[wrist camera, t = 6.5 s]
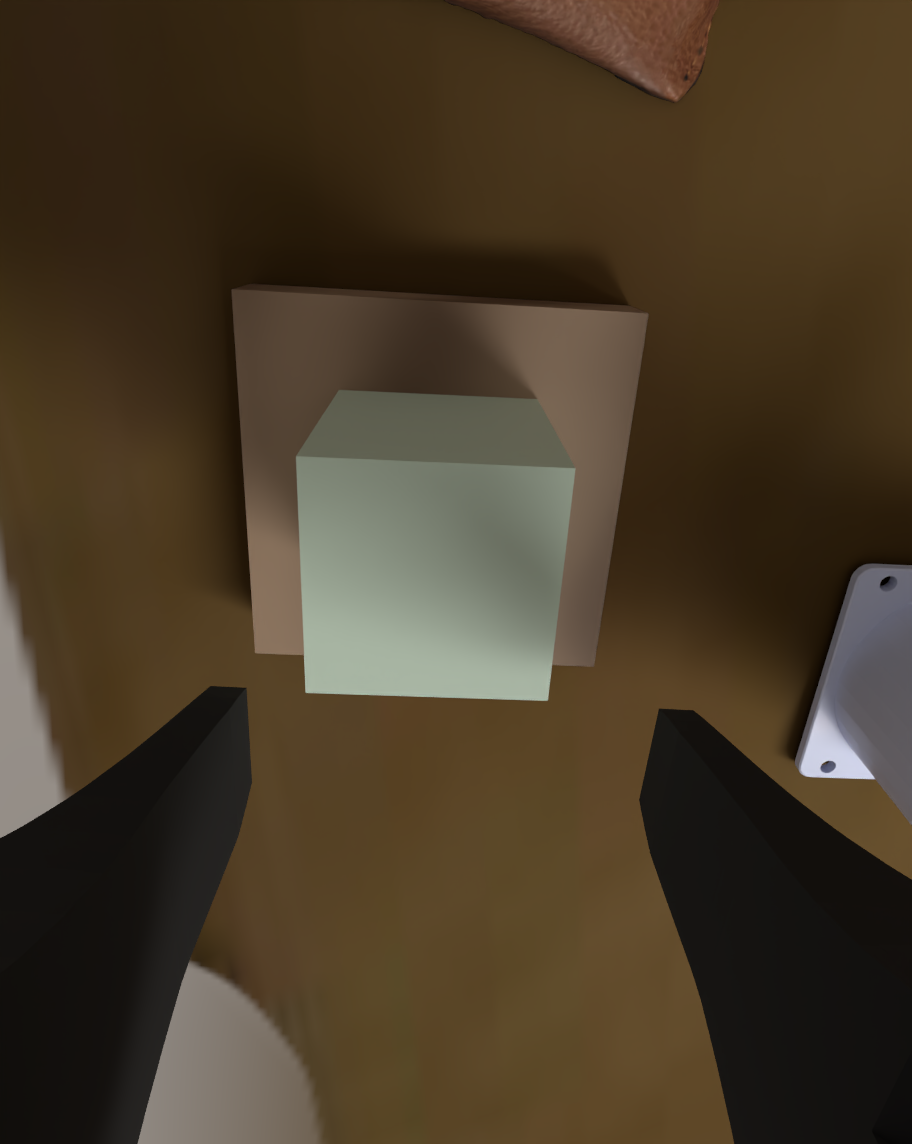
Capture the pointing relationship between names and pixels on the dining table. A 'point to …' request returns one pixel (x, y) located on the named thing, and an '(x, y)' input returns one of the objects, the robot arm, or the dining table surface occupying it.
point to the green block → (432, 546)
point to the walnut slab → (431, 366)
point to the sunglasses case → (619, 35)
